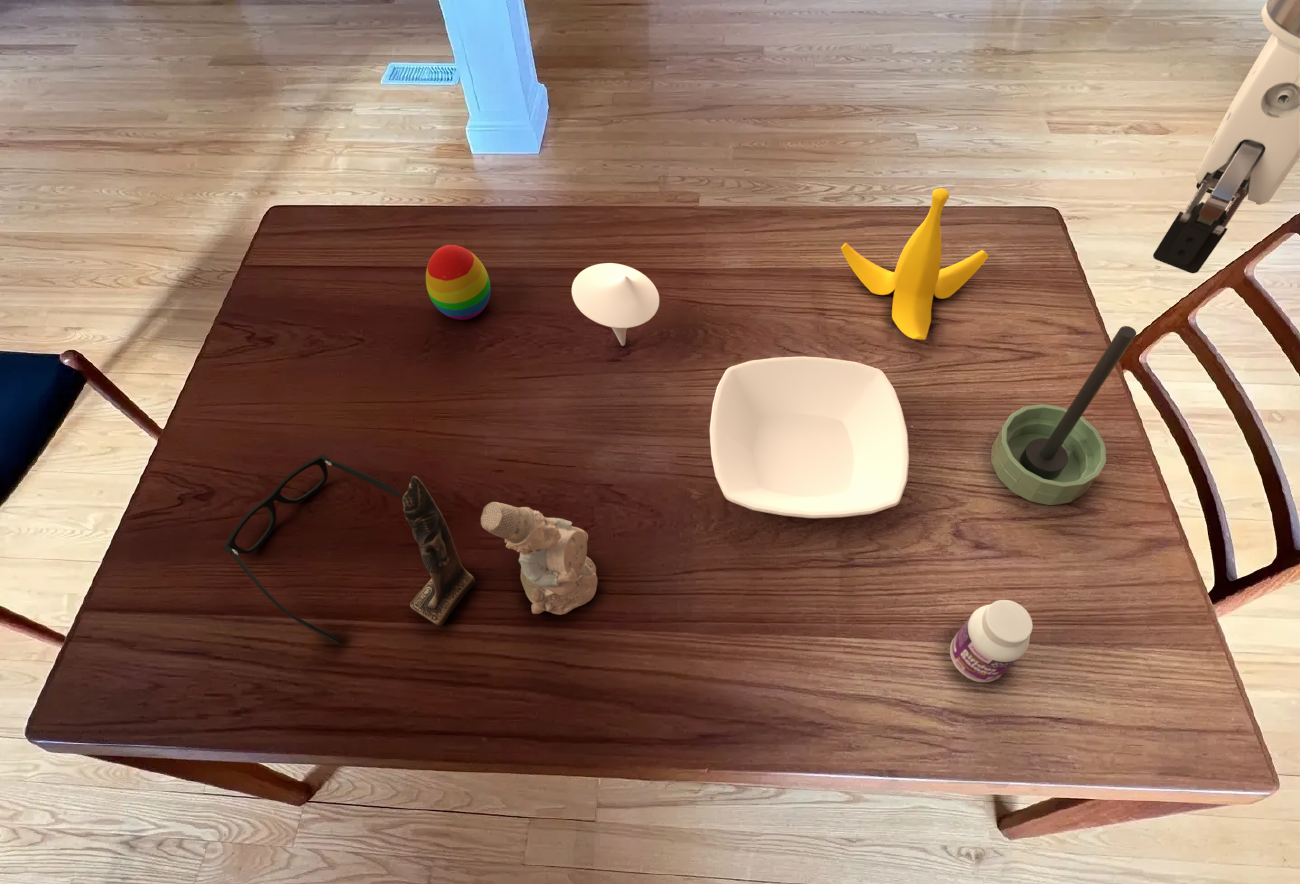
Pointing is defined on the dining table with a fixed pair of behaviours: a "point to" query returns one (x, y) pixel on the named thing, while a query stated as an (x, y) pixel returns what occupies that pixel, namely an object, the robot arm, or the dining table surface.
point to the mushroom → (615, 297)
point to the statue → (435, 556)
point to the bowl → (809, 438)
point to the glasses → (270, 506)
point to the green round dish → (1079, 445)
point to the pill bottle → (991, 640)
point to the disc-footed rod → (1073, 413)
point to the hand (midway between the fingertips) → (1196, 227)
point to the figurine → (545, 556)
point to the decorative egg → (457, 282)
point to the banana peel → (917, 273)
